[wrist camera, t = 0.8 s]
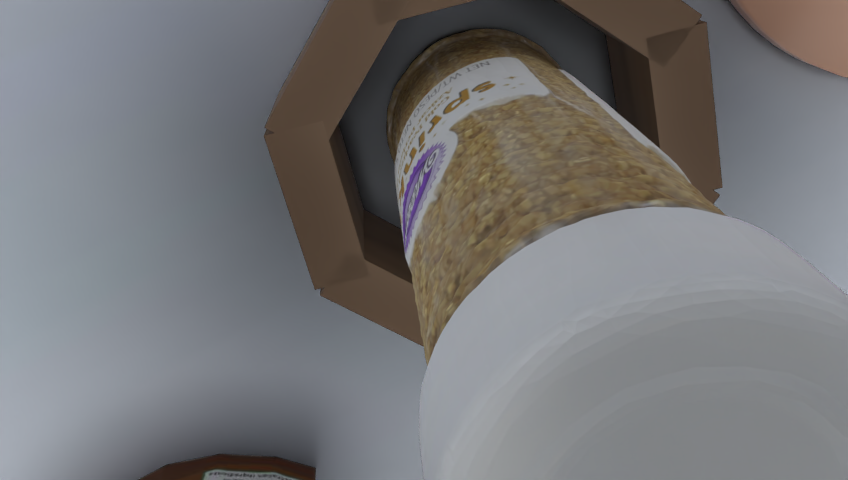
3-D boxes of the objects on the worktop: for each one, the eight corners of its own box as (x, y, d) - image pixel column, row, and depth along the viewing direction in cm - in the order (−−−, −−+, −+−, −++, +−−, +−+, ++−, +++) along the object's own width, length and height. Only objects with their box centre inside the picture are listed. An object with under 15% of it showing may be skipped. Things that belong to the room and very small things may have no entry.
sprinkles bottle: (390, 20, 18) (456, 281, 6) (587, 32, 19) (1041, 298, 6) (380, 210, 20) (415, 722, 8) (561, 217, 20) (875, 711, 8)
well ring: (683, 245, 21) (733, 297, 18) (350, 327, 21) (349, 392, 18) (639, -123, 17) (692, -127, 15) (240, -18, 18) (218, -2, 15)
